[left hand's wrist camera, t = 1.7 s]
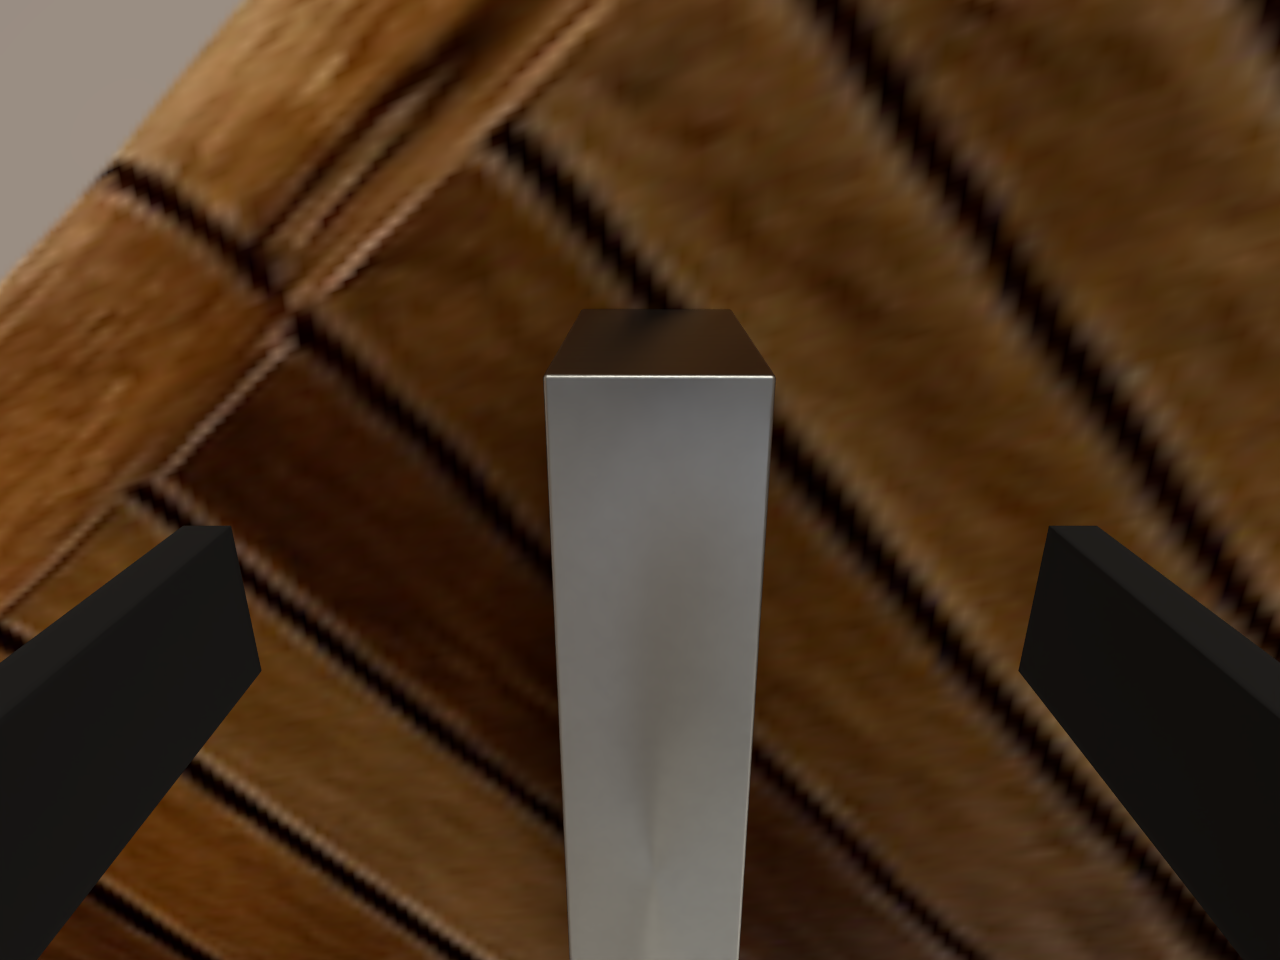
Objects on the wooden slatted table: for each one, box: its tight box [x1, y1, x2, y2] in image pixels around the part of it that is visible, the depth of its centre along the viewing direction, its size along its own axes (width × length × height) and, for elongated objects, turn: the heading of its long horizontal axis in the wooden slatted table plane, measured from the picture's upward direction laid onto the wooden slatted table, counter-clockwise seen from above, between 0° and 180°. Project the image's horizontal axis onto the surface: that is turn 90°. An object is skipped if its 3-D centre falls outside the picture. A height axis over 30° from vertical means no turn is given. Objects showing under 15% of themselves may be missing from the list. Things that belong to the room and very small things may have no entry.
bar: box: [543, 309, 776, 960], centre depth 24 cm, size 26×5×9 cm, turn 0°
